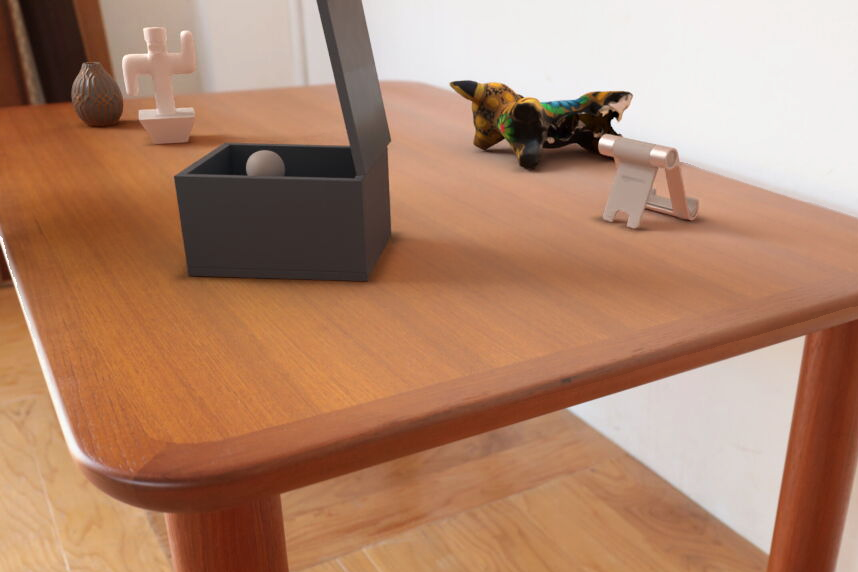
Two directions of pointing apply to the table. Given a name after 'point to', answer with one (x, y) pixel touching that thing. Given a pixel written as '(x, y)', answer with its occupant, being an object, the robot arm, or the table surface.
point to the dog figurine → (540, 119)
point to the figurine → (162, 85)
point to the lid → (355, 80)
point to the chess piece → (265, 164)
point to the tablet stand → (644, 180)
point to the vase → (96, 96)
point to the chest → (284, 214)
